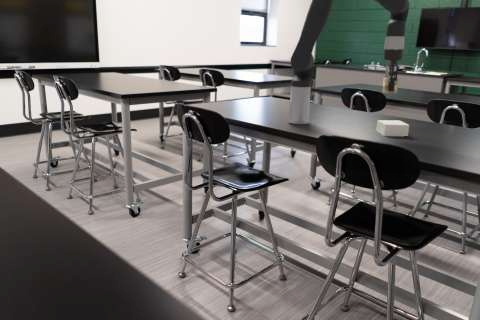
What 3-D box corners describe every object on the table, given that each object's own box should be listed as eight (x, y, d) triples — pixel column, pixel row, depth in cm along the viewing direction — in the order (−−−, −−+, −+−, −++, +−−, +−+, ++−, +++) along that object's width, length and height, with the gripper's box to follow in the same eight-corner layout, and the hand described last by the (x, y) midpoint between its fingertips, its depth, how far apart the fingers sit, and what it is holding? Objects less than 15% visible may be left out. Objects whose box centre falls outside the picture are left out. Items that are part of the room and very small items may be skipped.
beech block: (384, 93, 166) (385, 78, 164) (382, 91, 170) (383, 77, 169) (396, 93, 165) (398, 78, 163) (394, 92, 170) (395, 77, 168)
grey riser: (383, 136, 168) (385, 124, 166) (376, 131, 177) (377, 120, 176) (407, 136, 168) (409, 125, 166) (398, 131, 177) (399, 120, 176)
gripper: (381, 48, 170) (377, 88, 175) (387, 48, 156) (383, 92, 161) (399, 48, 169) (395, 88, 174) (407, 48, 155) (402, 92, 160)
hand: (389, 90), depth 167 cm, fingers closed on beech block, 5 cm apart
